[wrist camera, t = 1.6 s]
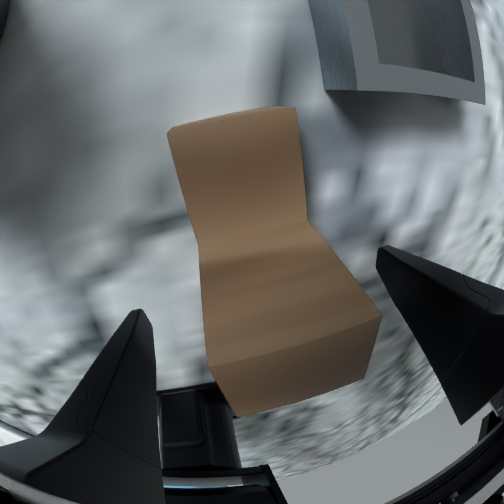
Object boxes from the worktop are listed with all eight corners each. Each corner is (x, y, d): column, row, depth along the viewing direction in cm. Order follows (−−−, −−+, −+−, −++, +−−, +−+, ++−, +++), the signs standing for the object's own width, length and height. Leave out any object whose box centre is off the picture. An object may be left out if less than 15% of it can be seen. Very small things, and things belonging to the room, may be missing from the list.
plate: (97, 474, 36) (97, 482, 34) (2, 440, 27) (1, 447, 25) (88, 449, 25) (87, 462, 24) (-41, 393, 16) (-44, 403, 14)
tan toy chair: (296, 256, 13) (363, 378, 7) (214, 277, 13) (237, 416, 7) (277, 105, 9) (403, 132, 3) (172, 127, 9) (126, 182, 3)
